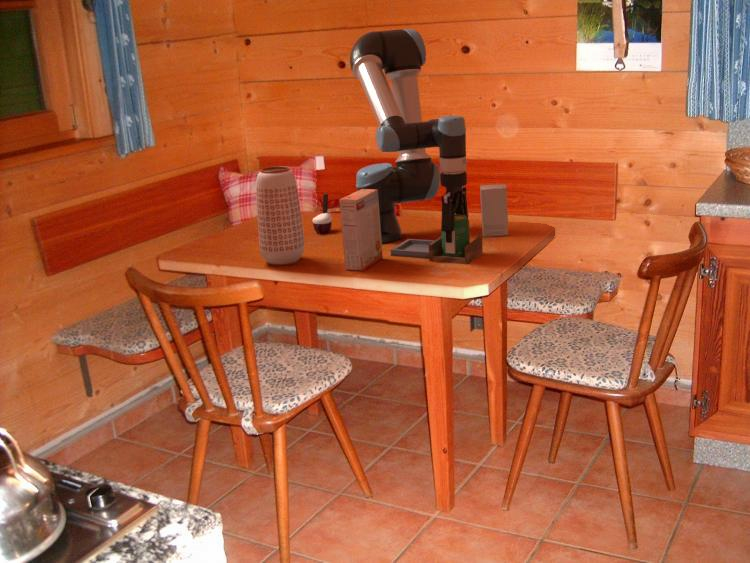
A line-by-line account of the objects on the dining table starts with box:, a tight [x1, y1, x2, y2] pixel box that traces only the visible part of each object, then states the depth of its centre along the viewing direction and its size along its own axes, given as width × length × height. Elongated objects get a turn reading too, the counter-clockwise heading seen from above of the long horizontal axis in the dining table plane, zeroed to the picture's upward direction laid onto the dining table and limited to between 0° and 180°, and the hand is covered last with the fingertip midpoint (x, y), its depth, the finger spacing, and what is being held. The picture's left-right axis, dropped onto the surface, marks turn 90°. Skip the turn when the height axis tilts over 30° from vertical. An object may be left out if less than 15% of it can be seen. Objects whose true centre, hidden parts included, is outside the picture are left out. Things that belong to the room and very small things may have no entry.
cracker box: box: [338, 189, 384, 272], centre depth 247 cm, size 14×6×21 cm, turn 154°
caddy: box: [428, 235, 484, 265], centre depth 250 cm, size 12×12×5 cm
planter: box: [255, 165, 306, 267], centre depth 253 cm, size 13×13×28 cm
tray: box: [390, 238, 435, 259], centre depth 259 cm, size 13×13×2 cm
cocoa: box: [312, 193, 333, 235], centre depth 288 cm, size 10×6×12 cm, turn 139°
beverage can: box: [440, 214, 471, 258], centre depth 249 cm, size 8×8×12 cm
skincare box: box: [479, 183, 509, 238], centre depth 271 cm, size 8×7×16 cm
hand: (456, 248), depth 250 cm, fingers closed on beverage can, 8 cm apart
